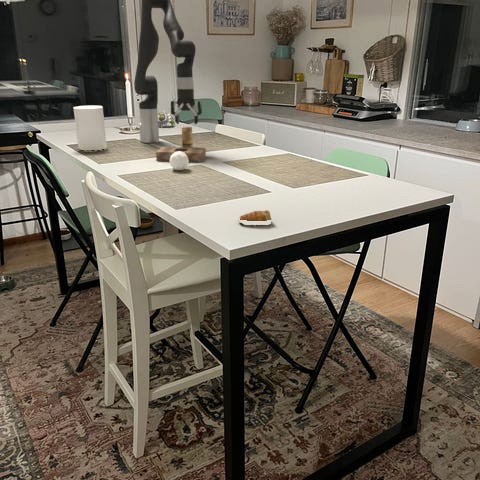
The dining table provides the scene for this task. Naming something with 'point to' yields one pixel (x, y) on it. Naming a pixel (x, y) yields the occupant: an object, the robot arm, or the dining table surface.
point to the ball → (179, 160)
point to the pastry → (257, 216)
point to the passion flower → (164, 119)
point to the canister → (90, 127)
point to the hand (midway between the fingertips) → (186, 123)
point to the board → (191, 152)
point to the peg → (187, 137)
